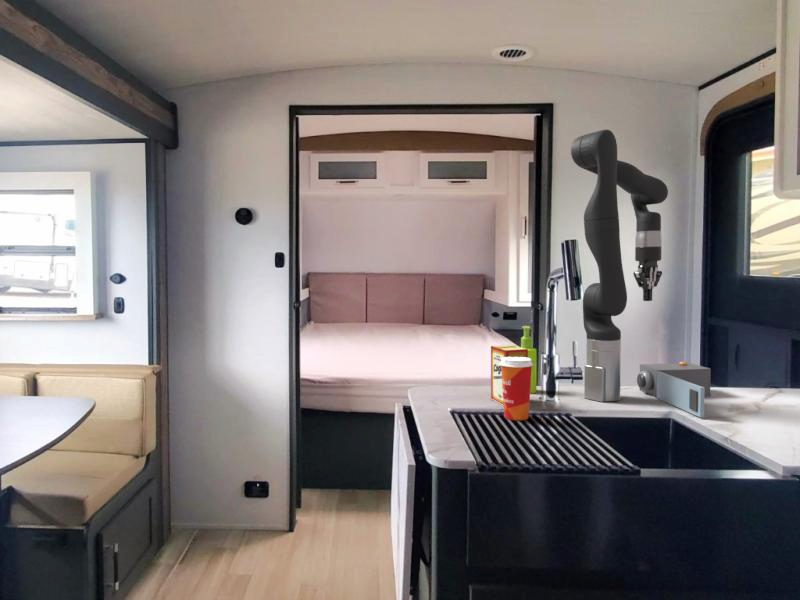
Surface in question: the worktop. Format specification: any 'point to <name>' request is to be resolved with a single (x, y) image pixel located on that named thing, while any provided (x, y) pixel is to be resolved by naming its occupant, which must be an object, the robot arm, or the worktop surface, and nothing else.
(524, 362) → the coffee cup
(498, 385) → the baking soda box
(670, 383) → the side door
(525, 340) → the soap dispenser
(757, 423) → the worktop surface
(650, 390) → the camera housing
